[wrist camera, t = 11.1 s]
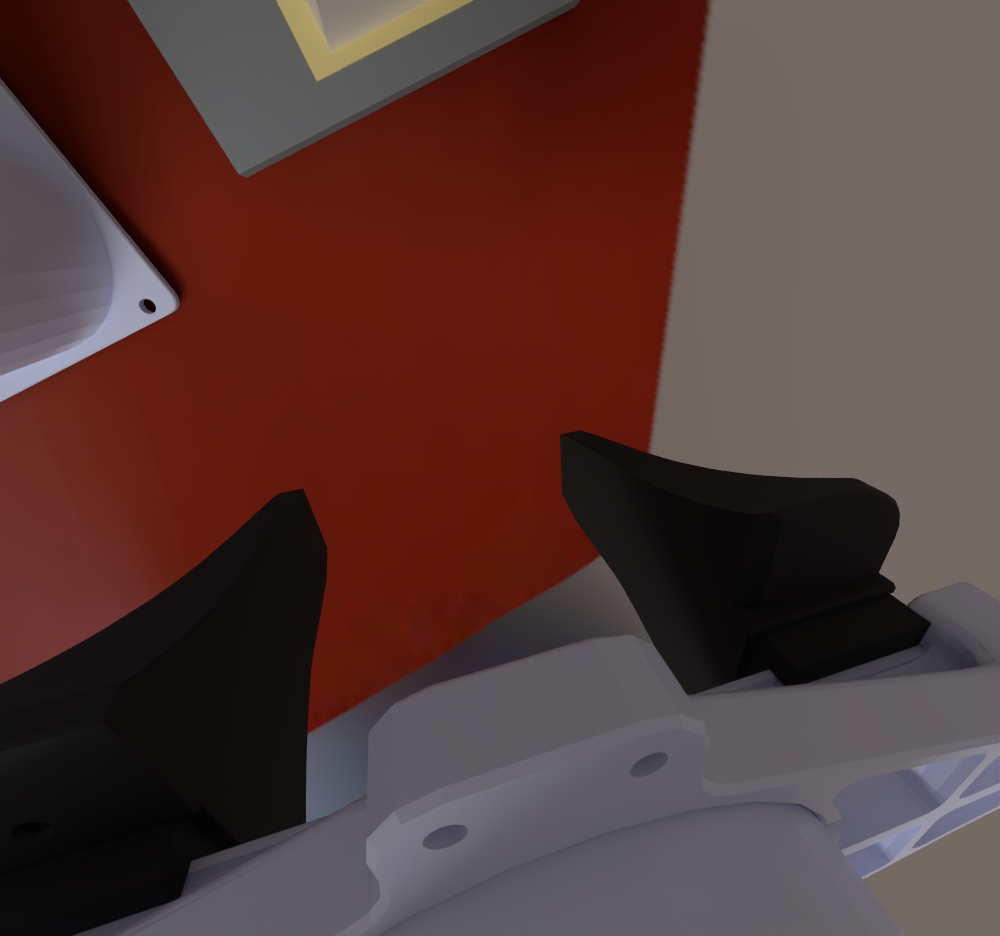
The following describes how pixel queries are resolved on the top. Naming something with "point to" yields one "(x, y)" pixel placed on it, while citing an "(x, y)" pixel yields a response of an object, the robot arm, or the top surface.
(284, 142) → the board
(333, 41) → the block
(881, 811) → the robot arm
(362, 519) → the top surface
